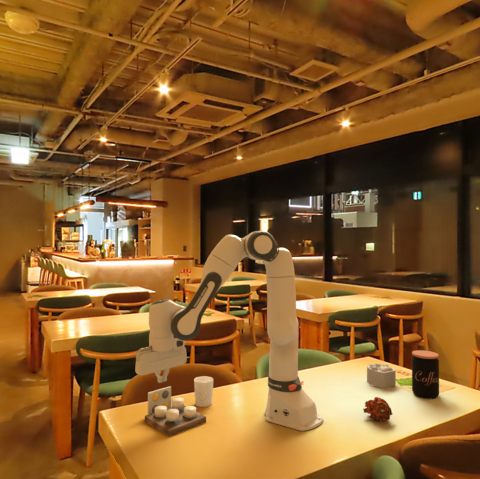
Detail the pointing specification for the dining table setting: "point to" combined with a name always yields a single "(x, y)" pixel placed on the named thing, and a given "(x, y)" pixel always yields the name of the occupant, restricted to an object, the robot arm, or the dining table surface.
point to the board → (174, 422)
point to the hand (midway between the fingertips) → (162, 381)
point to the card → (159, 399)
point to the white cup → (203, 391)
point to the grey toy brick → (381, 375)
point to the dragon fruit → (378, 409)
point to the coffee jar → (425, 374)
